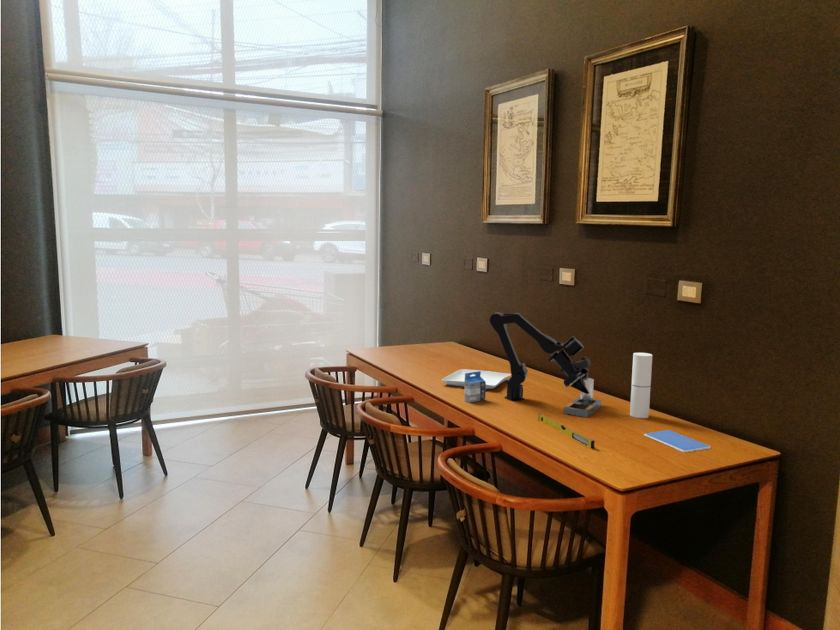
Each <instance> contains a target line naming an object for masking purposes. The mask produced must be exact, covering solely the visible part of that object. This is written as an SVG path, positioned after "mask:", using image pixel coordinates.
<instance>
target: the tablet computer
mask: <svg viewBox="0 0 840 630" xmlns="http://www.w3.org/2000/svg"><path fill="white" fill-rule="evenodd" d="M643 436H644V437H646V438H649V439H652V440H654V441H656V442H658V443H661V444H664V445H665V446H668V447H671V448H673V449H675V450H677V451H679V452H682V453H685V452H686V453H689V452H697V451H703V450H708V449H709V450H710V449H712V447H711V445H709V444H706V443H704V442H701V441H698V440H696V439H693V438H690V437H687V436H686V435H682V434H680V433H679V432H675V431H673V430H670V429H665V430H662V431H661V430H660V431H659V430H658V431H654V432H648V433H647V432H646V433H644V434H643Z"/></svg>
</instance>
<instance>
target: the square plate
mask: <svg viewBox="0 0 840 630" xmlns="http://www.w3.org/2000/svg"><path fill="white" fill-rule="evenodd" d="M478 371H481V375H480V377H481V378H482V379H483V380H484V381H485V382H486V388H485V390H493V389H495V388H497V387H498V386H499V385H500V384H502V383H504V382H505V381H506V380H507V381H508V380H509V379H510V378H511V377H512V375H511V373H505V372H498V371H489V370H481V369H480V370H478V369H464V368H461V369H459V370H456V371H455V372H453V373H450V374H449V375H446V376H445V377H443V378H442V379H441V381H442V382H443V383H444V384H446V385H449V386H453V387H454V386H455V387H462V388H465V373H471V372H478ZM471 376H475V375H473V374H472V375H470V377H471Z"/></svg>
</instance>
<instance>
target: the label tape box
mask: <svg viewBox="0 0 840 630" xmlns="http://www.w3.org/2000/svg"><path fill="white" fill-rule="evenodd" d="M481 371H482V370H481ZM481 371H478V372H471V373H465V387H464V401H465V402H466V403H469V404H471V403H475V402H482V401H485V400H486V389H485V388H486V382H485V381H484V380H483V379H482V378H481V377H480V375H481ZM472 374H473V375H475V376H471V377H470V375H472Z"/></svg>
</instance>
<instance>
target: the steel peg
mask: <svg viewBox="0 0 840 630" xmlns="http://www.w3.org/2000/svg"><path fill="white" fill-rule="evenodd" d="M594 381H595V380H594V378H590V377H588V378H582V382H583V384H584V385H585V387H586V388H587V390H588V391H589V394H585V393H583V392H581V391H580V397H581V399H580V403H587V404H593V399H594V383H595V382H594Z"/></svg>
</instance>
